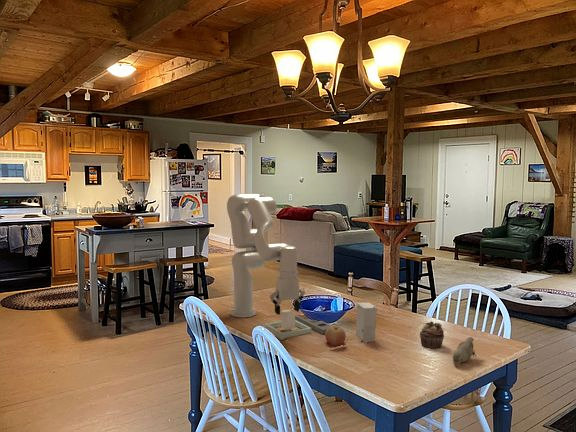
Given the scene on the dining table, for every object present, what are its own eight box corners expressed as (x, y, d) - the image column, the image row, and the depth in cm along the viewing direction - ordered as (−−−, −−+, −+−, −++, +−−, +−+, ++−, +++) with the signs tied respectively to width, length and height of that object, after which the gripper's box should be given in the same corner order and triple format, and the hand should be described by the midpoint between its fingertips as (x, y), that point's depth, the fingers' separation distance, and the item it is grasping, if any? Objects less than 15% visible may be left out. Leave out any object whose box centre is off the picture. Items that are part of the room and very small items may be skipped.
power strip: (286, 318, 232) (286, 310, 231) (298, 316, 235) (298, 308, 235) (322, 336, 205) (323, 328, 205) (336, 334, 209) (336, 326, 208)
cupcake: (445, 344, 197) (446, 321, 196) (440, 351, 188) (441, 327, 188) (422, 340, 202) (423, 317, 201) (416, 347, 193) (417, 323, 192)
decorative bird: (448, 366, 175) (448, 346, 174) (463, 353, 187) (464, 335, 186) (462, 369, 171) (463, 349, 171) (477, 357, 184) (478, 338, 183)
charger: (281, 330, 211) (281, 311, 210) (288, 329, 213) (289, 309, 212) (287, 333, 207) (287, 313, 206) (294, 332, 209) (295, 312, 208)
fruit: (329, 349, 190) (329, 330, 189) (322, 342, 198) (323, 324, 197) (348, 347, 192) (348, 328, 191) (340, 341, 200) (341, 322, 199)
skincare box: (355, 336, 206) (356, 302, 205) (368, 335, 208) (368, 301, 206) (362, 342, 198) (363, 307, 197) (376, 341, 200) (377, 306, 198)
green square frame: (264, 330, 212) (264, 323, 212) (293, 325, 220) (293, 319, 220) (281, 340, 200) (281, 333, 199) (311, 334, 207) (311, 328, 207)
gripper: (300, 270, 215) (299, 307, 217) (266, 274, 207) (265, 312, 208) (309, 274, 209) (308, 312, 211) (275, 277, 200) (274, 317, 202)
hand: (287, 312), depth 210 cm, fingers open, 9 cm apart
